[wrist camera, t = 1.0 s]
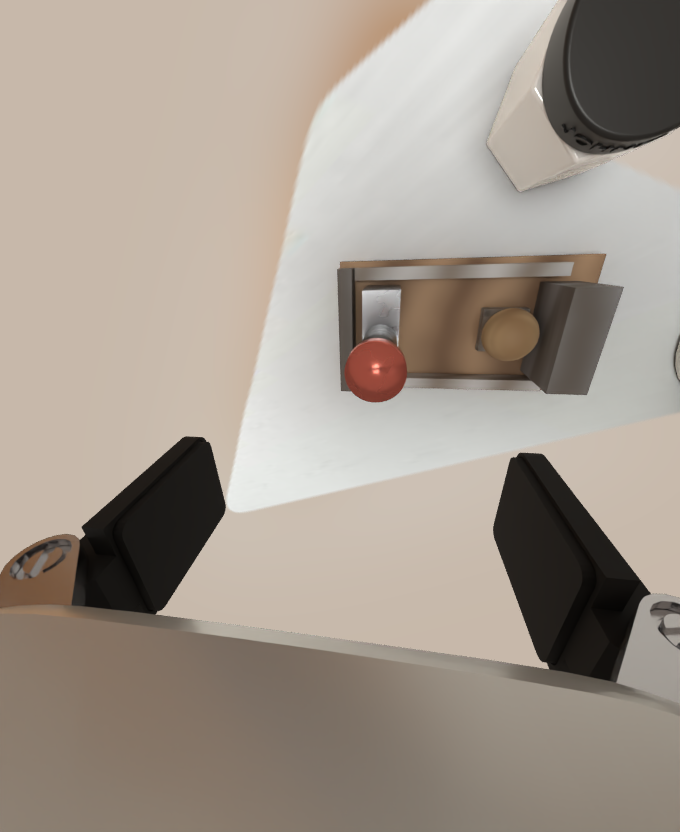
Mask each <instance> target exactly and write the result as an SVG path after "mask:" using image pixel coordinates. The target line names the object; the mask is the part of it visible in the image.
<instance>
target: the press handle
mask: <svg viewBox="0 0 680 832" xmlns="http://www.w3.org/2000/svg"><path fill="white" fill-rule="evenodd" d="M400 301H401V288H400V285H367V286H366V287H365V288H364V289H363V290H362V342H361V343H359V344H358V345H357V346H356V347H355V348H354V349H353V350H352V351H351V353H350V355H349V357H348V359H347V362H346V365H345V370H344V375H345V380H346V383H347V385H348V387H349V389H350V390H351V391H352V392H353V394H355V395H356V396H357V397H359V398H360V399H362V400H365V401H368V402H383V401H387V400H389V399H391V398H393V397H394V396H396V395H397V394H398V393H399V392H400V391H401V390H402V388H403V386H404V384H405V382H406V379H407V366H406V360H405V356H404V354H403V352H402V351H401V349H400V348H399V347H398V339H399V320H400Z"/></svg>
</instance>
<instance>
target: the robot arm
mask: <svg viewBox="0 0 680 832" xmlns="http://www.w3.org/2000/svg"><path fill="white" fill-rule="evenodd" d="M675 367H676V371H677V376H678V378H679V380H680V341H679V345H678V348H677V352H676V363H675ZM225 508H226V505H225V500H224V496H223V492H222V488H221V484H220V480H219V476H218V472H217V468H216V464H215V460H214V456H213V452H212V448H211V445H210V443H209V442H206V440H205V439H204V438H203V437H184V438H182V439H181V440H180V441H179V442H177V443H176V444H175V445H174V446H173V447H172V448H171V449H170V450H168V451H167V452H166V453H165V454H164V455H163V456H162V457H160V458H159V459H158V460H157V461H156V462H155V463H154V464H152V465H151V466H150V467H149V468H148V469H147V470H146V471H145V472H143V473H142V474H141V475H140V476H139V477H138V478H137V479H135V480H134V481H133V482H132V483H131V484H130V485H129V486H127V487H126V488H125V489H124V490H123V491H122V492H121V493H120V494H118V496H116V497H115V498H114V499H113V500H112V501H110V502H109V503H108V504H107V505H106V506H105V507H104V508H102V509H101V510H100V511H99V512H98V513H97V514H96V515H95V516H93V517H92V518H91V519H90V520H89V521H88V522H87V523H85V524H84V525H83V526H82V529H83V531H84V533H85V536H84V537H83V538H82V539H81V540H79V539H78V538H77V537H76V536H75V535H70V534H62V535H56V536H52V537H48V538H46V539H43V540H41V541H38V542H36V543H34V544H33V545H31V546H29V547H27V548H25V549H24V550H23V551H21V552H20V553H18V554H17V555H16V556H14V557H13V558H12V559H11V560H10V561H9V562H8V563H7V564H6V565H5V567H4V568H3V570H2V572H1V574H0V832H680V598H679V597H674V596H671V595H667V594H651V593H650V592H649V591H648V590H647V588H646V587H645V586H644V584H643V583H642V582H641V580H640V579H639V578H638V576H637V575H636V574H635V573H634V571H633V570H632V569H631V567H630V566H629V565H628V563H627V562H626V561H625V560H624V558H623V557H622V556H621V555H620V553H619V552H618V551H617V549H616V548H615V547H614V545H613V544H612V543H611V542H610V540H609V539H608V537H607V536H606V535H605V534H604V532H603V531H602V530H601V528H600V527H599V526H598V524H597V523H596V522H595V521H594V519H593V518H592V517H591V516H590V514H589V513H588V511H587V510H586V509H585V508H584V507H583V505H582V504H581V503H580V501H579V500H578V499H577V498H576V496H575V495H574V494H573V492H572V491H571V490H570V488H569V487H568V486H567V484H566V483H565V482H564V481H563V479H562V478H561V477H560V475H559V474H558V473H557V472H556V470H555V469H554V468H553V466H552V465H551V464H550V462H549V461H548V460H547V459H546V457H545V456H544V455H543V454H536V453H535V454H534V453H519V454H518V456H517V457H516V458H514V457H513V458H511V459H510V462H509V466H508V470H507V474H506V478H505V483H504V486H503V490H502V494H501V498H500V502H499V506H498V510H497V514H496V518H495V522H494V526H493V533H494V538H495V541H496V544H497V547H498V549H499V552H500V555H501V558H502V560H503V563H504V566H505V569H506V571H507V574H508V576H509V579H510V582H511V585H512V587H513V590H514V593H515V595H516V599H517V601H518V604H519V607H520V609H521V612H522V615H523V617H524V620H525V623H526V626H527V628H528V631H529V634H530V636H531V639H532V642H533V645H534V648H535V650H536V653H537V655H538V657H539V659H540V660H541V661H542V662H546V663H547V664H548V667H549V669H550V670H549V669H543V668H537V667H530V666H523V665H518V664H511V663H505V662H499V661H492V660H486V659H479V658H472V657H465V656H457V655H450V654H444V653H436V652H430V651H423V650H415V649H408V648H401V647H393V646H387V645H380V644H373V643H365V642H358V641H350V640H343V639H336V638H329V637H321V636H314V635H306V634H299V633H292V632H284V631H277V630H269V629H262V628H255V627H247V626H240V625H232V624H224V623H217V622H208V621H201V620H193V619H185V618H177V617H170V616H162V615H155V614H156V613H157V611H160V610H162V609H163V608H164V607H165V606H166V604H167V603H168V601H169V599H170V598H171V596H172V595H173V593H174V592H175V590H176V589H177V587H178V585H179V584H180V582H181V581H182V579H183V578H184V576H185V574H186V573H187V571H188V570H189V568H190V567H191V565H192V564H193V562H194V561H195V559H196V557H197V556H198V554H199V553H200V551H201V550H202V548H203V547H204V545H205V543H206V542H207V540H208V539H209V537H210V536H211V534H212V533H213V531H214V529H215V528H216V526H217V525H218V523H219V522H220V520H221V518H222V517H223V515H224V513H225Z"/></svg>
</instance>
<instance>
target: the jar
mask: <svg viewBox="0 0 680 832" xmlns="http://www.w3.org/2000/svg"><path fill="white" fill-rule="evenodd" d="M678 127H680V0H558V1H557V3H556V4H555V6H554V8H553V9H552V11H551V12H550V14H549V15H548V17H547V18H546V20H545V21H544V23H543V25H542V26H541V28H540V29H539V31H538V32H537V34H536V35H535V37H534V39H533V40H532V42H531V43H530V45H529V46H528V48H527V49H526V51H525V52H524V54H523V56H522V57H521V59H520V60H519V62H518V63H517V65H516V67H515V69H514V71H513V74H512V77H511V79H510V82H509V85H508V87H507V90H506V93H505V95H504V98H503V100H502V103H501V106H500V108H499V111H498V113H497V116H496V119H495V121H494V124H493V127H492V129H491V132H490V134H489V137H488V140H487V146H488V147H489V149H490V150H491V152H492V153H493V155H494V156H495V158H496V159H497V161H498V162H499V164H500V165H501V167H502V168H503V169H504V171H505V172H506V174H507V175H508V177H509V178H510V180H511V181H512V183H513V184H514V186H515V187H516V189H517V190H518V191H519V192H522V191H525V190H528V189H532V188H535V187H538V186H542V185H545V184H548V183H551V182H555V181H558V180H561V179H564V178H568V177H571V176H574V175H578V174H581V173H583V172H585V171H588V170H590V169H592V168H595V167H597V166H600V165H602V164H605V163H607V162H609V161H610V160H613V159H615V158H617V157H620V156H622V155H624V154H626V153H629V152H631V151H633V150H636V149H638V148H640V147H642V146H645V145H647V144H649V143H652V142H654V141H656V140H658V139H661V138H663V137H665V136H668V135H669V134H671V133H672V132H673V131H674V130H675V129H677V128H678Z"/></svg>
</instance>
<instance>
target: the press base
mask: <svg viewBox="0 0 680 832" xmlns="http://www.w3.org/2000/svg"><path fill="white" fill-rule="evenodd" d="M605 257H606V254H579V255H547V256H515V257H483V258H451V259H419V260H387V261H355V262H340V269H337V275H338V307H339V340H340V372H341V391H351V390H350V389H349V387H348V385H347V383H346V380H345V375H344V370H345V365H346V362H347V359H348V357H349V355H350V353H351V351H352V350H353V349H354V348H355V347H356V346H357V345H358V344H359V343H361V342H362V290H363V289H364V288H365V287H366V286H367V285H400V288H401V301H400V320H399V339H398V347H399V348H400V349H401V351H402V352H403V354H404V356H405V360H406V366H407V379H406V382H405V384H404V386H403V387H404V388H443V389H481V390H519V391H540V390H542V391H544V392H545V393H546V394H573V395H587V393H588V390H589V387H590V384H591V381H592V378H593V375H594V372H595V370H596V367H597V364H598V361H599V358H600V355H601V352H602V349H603V346H604V343H605V340H606V338H607V335H608V332H609V329H610V326H611V323H612V320H613V317H614V314H615V311H616V308H617V305H618V303H619V300H620V297H621V294H622V291H623V288H624V287H620V286H613V285H606V284H598V279H599V276H600V273H601V270H602V266H603V263H604V260H605ZM509 308H519V309H523V310H526V311H528V312H529V313H531V314H532V315H533V316H534V317H535V319H536V320H537V322H538V324H539V330H540V334H539V339H538V342H537V344H536V345H535V347H534V348H533V350H532V351H531V352H530V353H528V354H527V355H526V356H524V357H522V358H520V359H518V360H514V361H501V360H497V359H495V358H493V357H491V356H490V355H489V354H488V353H487V352H486V351H485V349H484V348H483V345H482V341H481V335H482V330H483V327H484V325H485V324H486V322H487V321H488V320H489V319H490V318H491V317H492V316H493V315H494V314H496V313H497V312H499V311H501V310H504V309H509Z"/></svg>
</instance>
